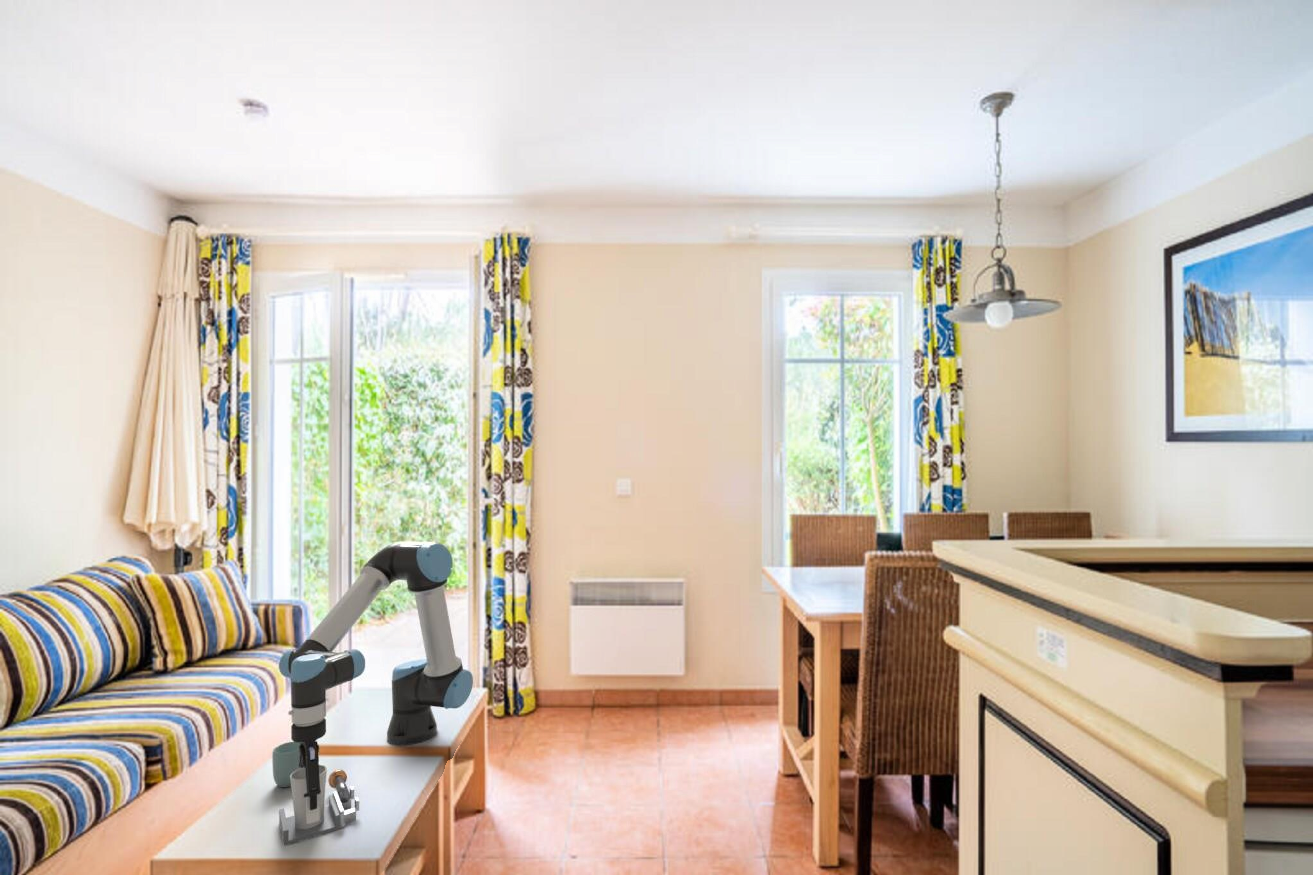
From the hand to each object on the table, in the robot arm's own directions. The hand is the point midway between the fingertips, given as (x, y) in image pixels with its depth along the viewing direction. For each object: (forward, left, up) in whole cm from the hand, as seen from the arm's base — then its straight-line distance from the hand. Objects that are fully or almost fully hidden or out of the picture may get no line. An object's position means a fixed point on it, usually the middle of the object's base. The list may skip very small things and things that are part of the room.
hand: (309, 810), depth 161 cm
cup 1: (+2, -28, -4) cm, 28 cm away
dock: (0, 0, -4) cm, 4 cm away
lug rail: (-8, 0, -4) cm, 9 cm away
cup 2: (0, 0, -3) cm, 3 cm away
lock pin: (-8, -9, -3) cm, 12 cm away
